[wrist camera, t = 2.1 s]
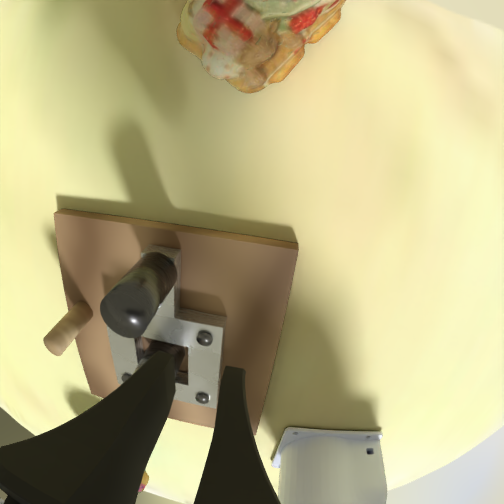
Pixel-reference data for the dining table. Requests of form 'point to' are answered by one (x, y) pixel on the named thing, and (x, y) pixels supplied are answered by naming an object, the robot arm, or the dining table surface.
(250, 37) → the topped waffle
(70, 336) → the dowel
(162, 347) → the post
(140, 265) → the flange
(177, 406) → the board
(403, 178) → the dining table surface
